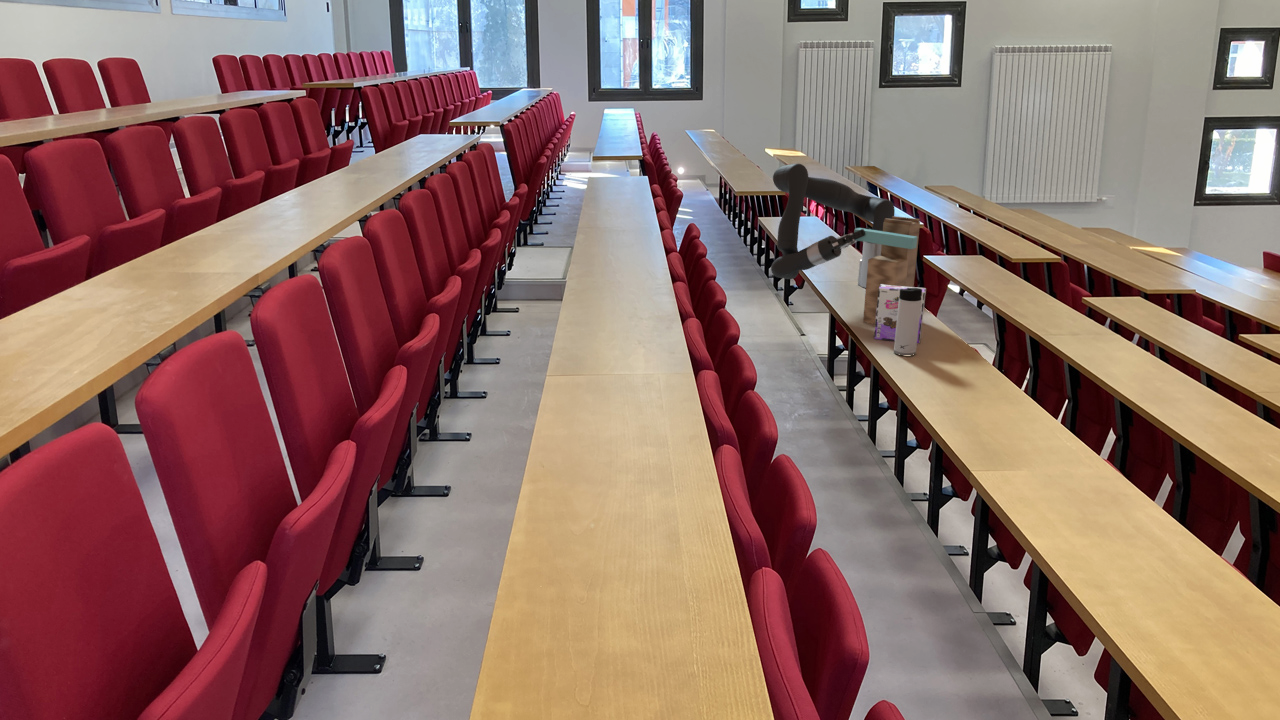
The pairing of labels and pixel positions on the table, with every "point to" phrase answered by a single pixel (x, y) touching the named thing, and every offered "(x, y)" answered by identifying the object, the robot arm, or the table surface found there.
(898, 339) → the travel mug
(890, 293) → the candy box
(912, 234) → the tall stand
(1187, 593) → the table surface
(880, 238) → the light blue rectangular bar
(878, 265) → the wooden block
